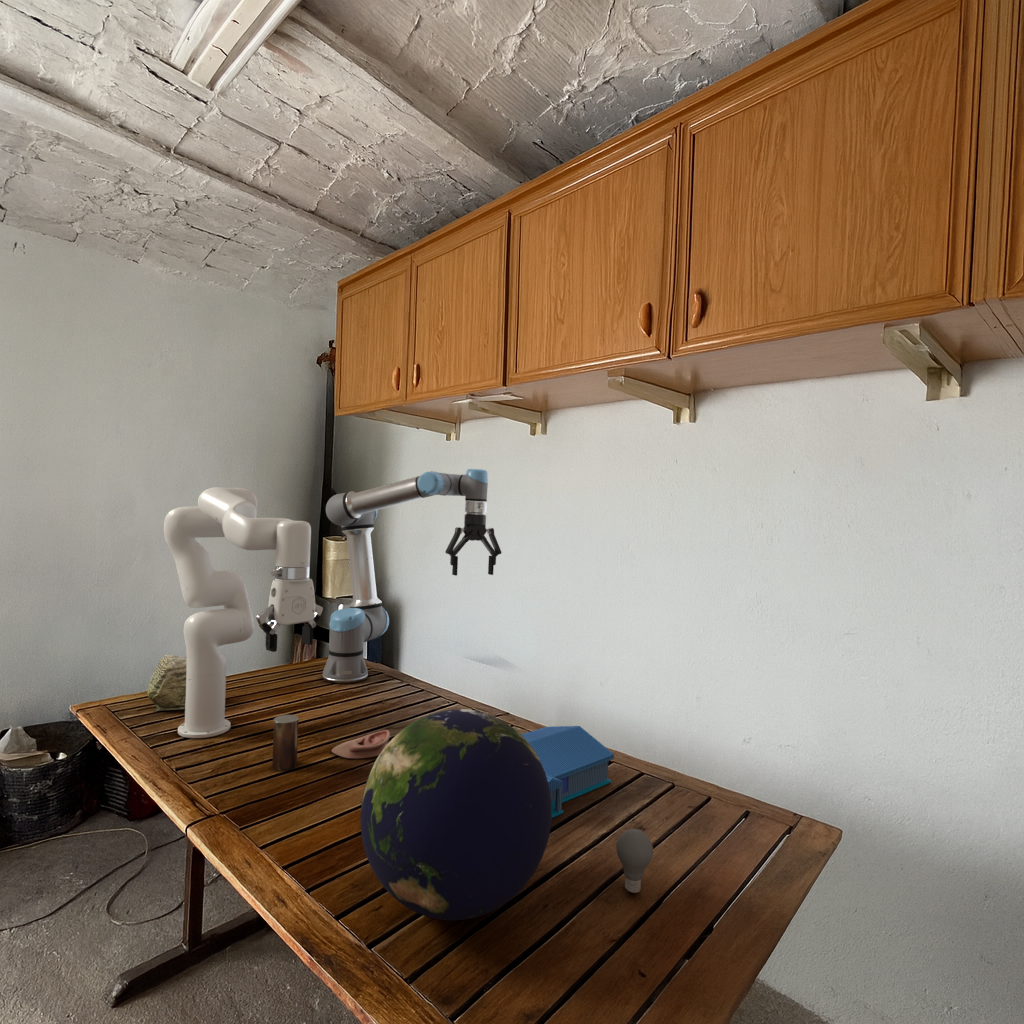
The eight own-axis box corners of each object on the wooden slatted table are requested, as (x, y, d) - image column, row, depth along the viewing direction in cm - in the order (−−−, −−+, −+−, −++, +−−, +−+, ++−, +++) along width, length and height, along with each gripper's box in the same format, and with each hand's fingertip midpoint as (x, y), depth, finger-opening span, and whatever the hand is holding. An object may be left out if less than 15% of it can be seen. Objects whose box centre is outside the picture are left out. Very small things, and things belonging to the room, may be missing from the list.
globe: (314, 931, 92) (322, 727, 92) (419, 834, 120) (426, 677, 120) (503, 1000, 81) (513, 769, 81) (570, 876, 109) (578, 703, 108)
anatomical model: (326, 739, 154) (347, 723, 165) (325, 755, 154) (346, 738, 166) (377, 746, 152) (395, 729, 163) (376, 762, 152) (394, 744, 163)
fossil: (144, 707, 182) (145, 655, 182) (212, 696, 194) (213, 647, 194) (151, 716, 175) (153, 662, 175) (221, 703, 188) (223, 653, 188)
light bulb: (610, 879, 108) (613, 822, 108) (644, 879, 109) (647, 822, 109) (619, 902, 102) (622, 840, 102) (655, 901, 103) (658, 840, 103)
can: (267, 768, 146) (268, 720, 146) (282, 759, 151) (284, 713, 151) (286, 772, 144) (288, 724, 144) (301, 763, 150) (303, 716, 149)
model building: (492, 844, 118) (494, 791, 118) (418, 795, 136) (419, 748, 136) (622, 787, 144) (624, 743, 144) (546, 752, 162) (547, 713, 162)
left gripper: (269, 578, 138) (266, 656, 138) (333, 572, 152) (330, 643, 152) (249, 574, 142) (246, 650, 142) (313, 569, 156) (310, 638, 156)
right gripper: (445, 513, 211) (443, 576, 211) (512, 515, 222) (509, 575, 222) (437, 512, 217) (435, 573, 218) (502, 514, 229) (500, 572, 229)
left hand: (289, 647), depth 147 cm, fingers open, 9 cm apart
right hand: (472, 574), depth 220 cm, fingers open, 13 cm apart
